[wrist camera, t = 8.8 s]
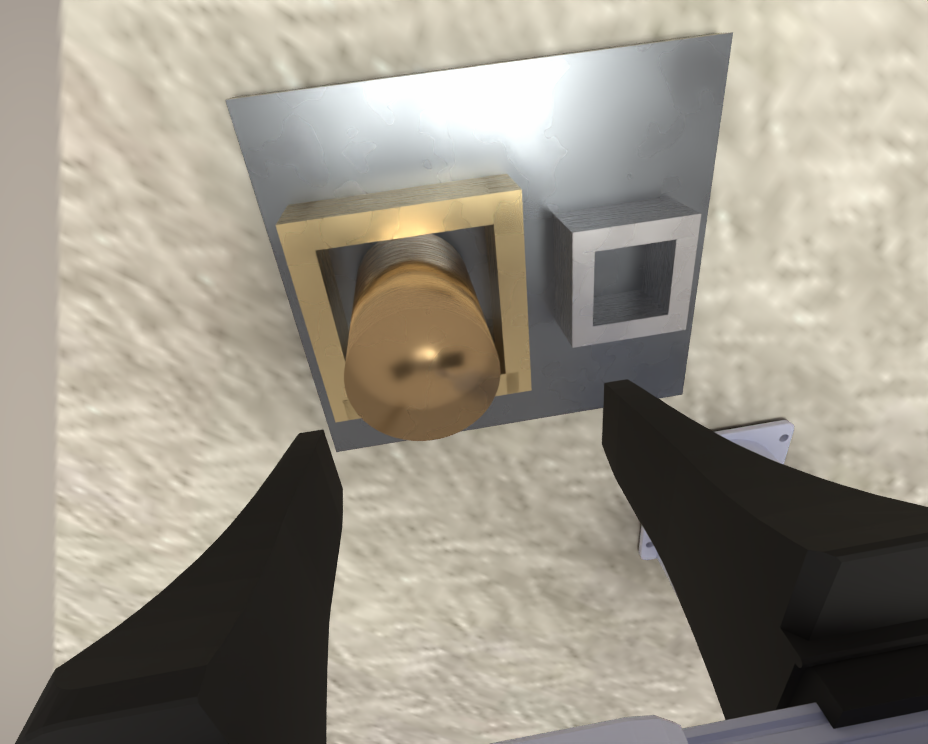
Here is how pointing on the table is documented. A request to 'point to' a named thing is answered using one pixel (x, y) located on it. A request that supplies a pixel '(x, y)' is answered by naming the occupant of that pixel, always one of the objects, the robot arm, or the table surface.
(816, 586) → the robot arm
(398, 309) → the cylindrical peg
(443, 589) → the table surface
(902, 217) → the table surface
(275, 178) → the fitting plate
